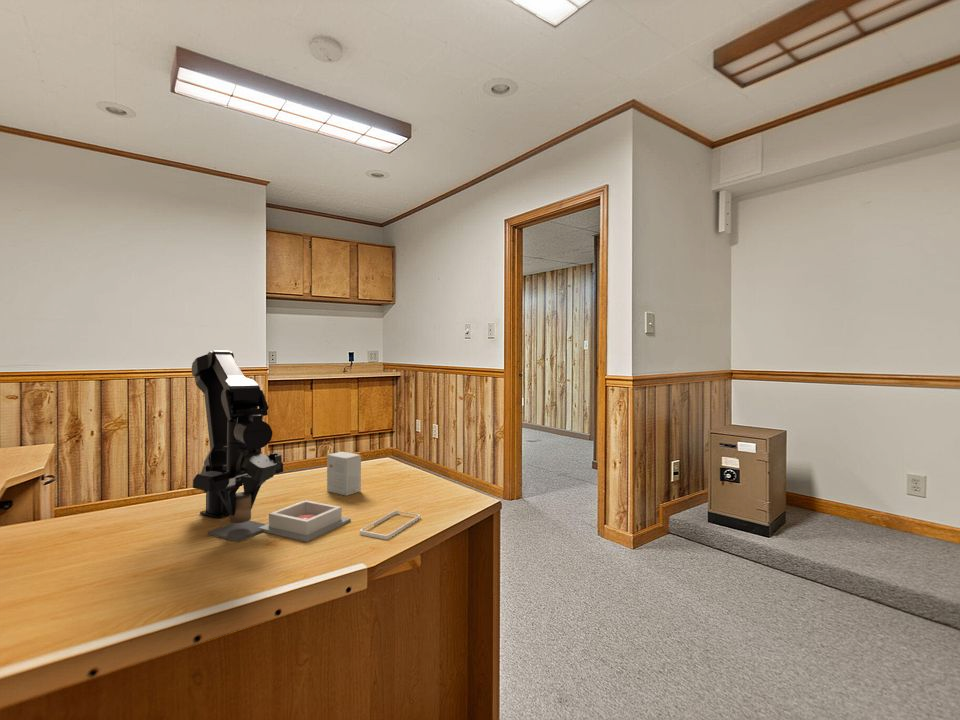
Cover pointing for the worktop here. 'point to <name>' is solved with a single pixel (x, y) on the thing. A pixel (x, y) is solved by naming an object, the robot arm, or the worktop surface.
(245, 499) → the dowel
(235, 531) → the pad
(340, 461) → the small box
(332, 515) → the grey square tray
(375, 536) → the phone case
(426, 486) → the worktop surface
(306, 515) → the button
